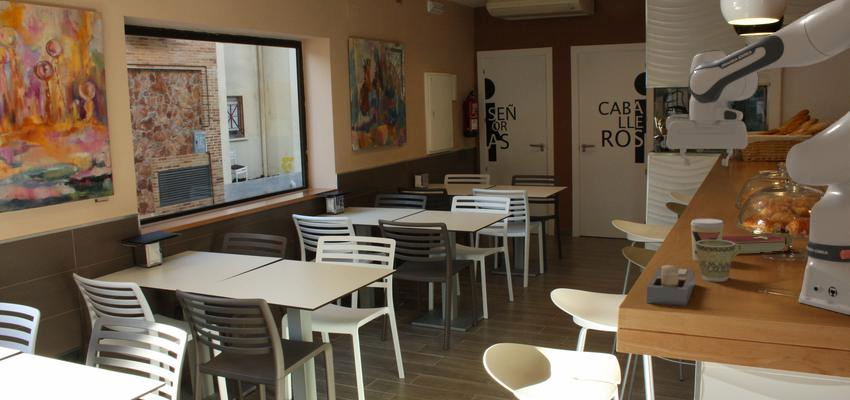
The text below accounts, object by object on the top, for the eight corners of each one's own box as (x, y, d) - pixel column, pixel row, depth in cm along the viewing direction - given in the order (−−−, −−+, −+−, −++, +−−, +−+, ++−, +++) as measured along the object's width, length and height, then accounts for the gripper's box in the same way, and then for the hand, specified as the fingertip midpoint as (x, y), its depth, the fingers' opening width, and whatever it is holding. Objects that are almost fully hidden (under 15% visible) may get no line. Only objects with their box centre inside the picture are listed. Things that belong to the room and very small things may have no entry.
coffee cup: (687, 261, 231) (688, 222, 229) (692, 255, 239) (693, 217, 237) (720, 264, 226) (721, 224, 225) (724, 258, 235) (725, 219, 233)
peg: (681, 299, 189) (681, 268, 188) (667, 301, 188) (667, 269, 187) (671, 295, 193) (672, 264, 192) (658, 297, 192) (658, 266, 191)
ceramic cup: (710, 284, 203) (711, 247, 202) (687, 276, 213) (688, 241, 211) (752, 280, 207) (753, 243, 205) (728, 272, 216) (729, 237, 215)
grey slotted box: (686, 305, 184) (686, 288, 183) (646, 302, 188) (646, 285, 187) (694, 284, 204) (694, 268, 203) (658, 282, 207) (658, 266, 207)
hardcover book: (708, 248, 252) (709, 235, 251) (771, 245, 253) (771, 233, 252) (724, 255, 240) (725, 242, 239) (790, 253, 241) (790, 239, 240)
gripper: (664, 114, 204) (663, 166, 206) (747, 113, 195) (746, 167, 197) (667, 113, 209) (666, 164, 211) (748, 112, 201) (747, 165, 203)
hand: (705, 165), depth 204 cm, fingers open, 8 cm apart
